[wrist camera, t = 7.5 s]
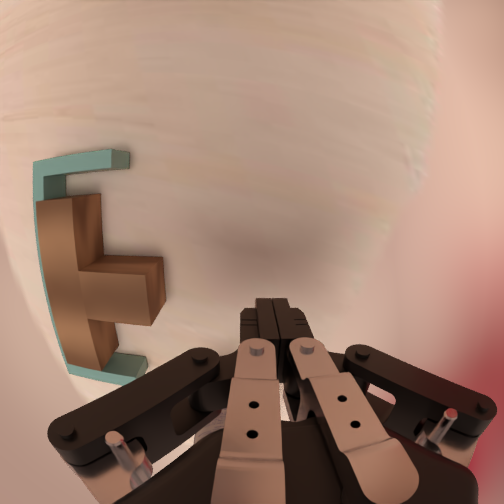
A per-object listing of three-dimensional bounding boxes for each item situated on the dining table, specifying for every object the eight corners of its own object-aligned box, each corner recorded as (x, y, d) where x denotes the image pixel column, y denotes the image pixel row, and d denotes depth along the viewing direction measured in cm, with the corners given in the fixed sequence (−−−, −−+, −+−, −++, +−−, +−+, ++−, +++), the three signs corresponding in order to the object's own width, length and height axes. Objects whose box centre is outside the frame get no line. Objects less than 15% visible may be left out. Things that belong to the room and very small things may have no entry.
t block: (66, 196, 18) (35, 201, 14) (161, 191, 18) (141, 194, 14) (87, 339, 21) (67, 363, 17) (171, 351, 22) (160, 381, 18)
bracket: (55, 162, 17) (33, 161, 14) (129, 152, 17) (111, 148, 15) (82, 356, 22) (69, 373, 19) (147, 367, 22) (138, 388, 19)
